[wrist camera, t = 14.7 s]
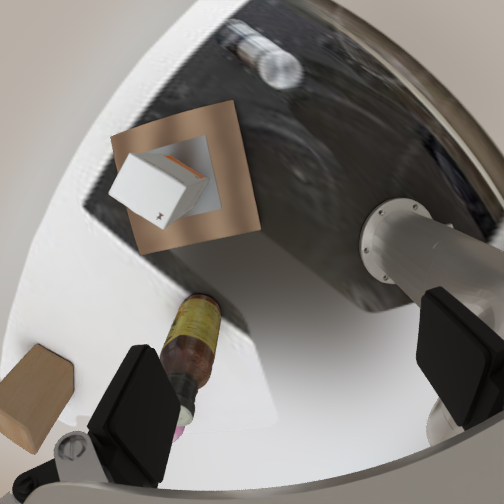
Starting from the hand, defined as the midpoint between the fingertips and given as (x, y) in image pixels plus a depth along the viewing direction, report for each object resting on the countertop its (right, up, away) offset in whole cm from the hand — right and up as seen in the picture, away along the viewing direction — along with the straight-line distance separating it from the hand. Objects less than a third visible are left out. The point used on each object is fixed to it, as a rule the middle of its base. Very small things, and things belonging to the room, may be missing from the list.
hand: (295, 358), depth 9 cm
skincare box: (-10, +12, +25) cm, 29 cm away
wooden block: (-42, -21, +39) cm, 61 cm away
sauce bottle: (-9, -5, +34) cm, 35 cm away
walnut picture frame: (-10, +13, +28) cm, 32 cm away
